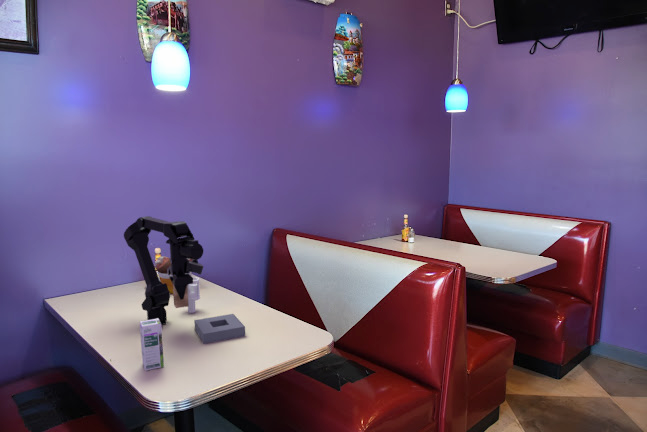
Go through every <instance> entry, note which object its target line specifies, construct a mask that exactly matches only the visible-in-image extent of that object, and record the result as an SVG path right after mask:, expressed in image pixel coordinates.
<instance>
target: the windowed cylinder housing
mask: <svg viewBox="0 0 647 432" xmlns="http://www.w3.org/2000/svg"><path fill="white" fill-rule="evenodd" d="M192 278H193V283H192V284H188V303H189V306H187V312H188V313H189V314H192V313H195V312H196V311H197V309H196V301H198V300H200V298H201V295H200V278H199V277H196V276H192Z"/></svg>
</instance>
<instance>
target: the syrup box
mask: <svg viewBox="0 0 647 432" xmlns="http://www.w3.org/2000/svg"><path fill="white" fill-rule="evenodd" d="M162 330H163V329H162V325H161V322H160V320H159V319H158V318H156V319H151V320H147V319H146V320H140V321H139V331H140V332H139V333H140V343H141V344H140V345H141V358H142V365H143V369H144V371H145V372H147V371H150V370H155V369H159V368H164V367H165V364H164V350H163V349H164V348H163V346H164V344H163V333H162V332H163V331H162Z"/></svg>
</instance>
